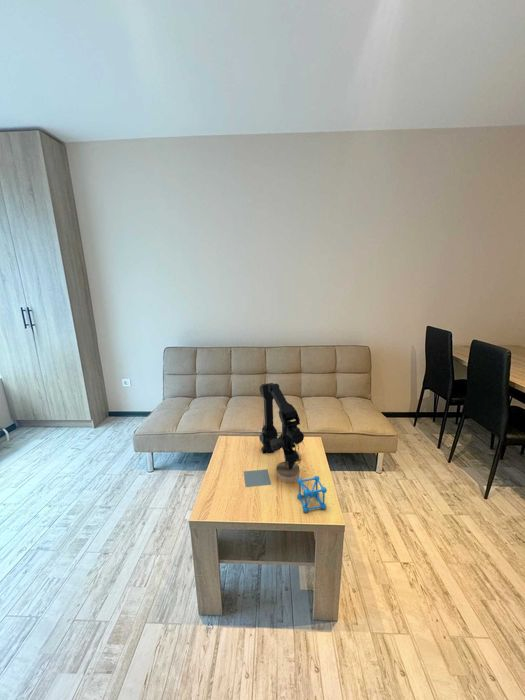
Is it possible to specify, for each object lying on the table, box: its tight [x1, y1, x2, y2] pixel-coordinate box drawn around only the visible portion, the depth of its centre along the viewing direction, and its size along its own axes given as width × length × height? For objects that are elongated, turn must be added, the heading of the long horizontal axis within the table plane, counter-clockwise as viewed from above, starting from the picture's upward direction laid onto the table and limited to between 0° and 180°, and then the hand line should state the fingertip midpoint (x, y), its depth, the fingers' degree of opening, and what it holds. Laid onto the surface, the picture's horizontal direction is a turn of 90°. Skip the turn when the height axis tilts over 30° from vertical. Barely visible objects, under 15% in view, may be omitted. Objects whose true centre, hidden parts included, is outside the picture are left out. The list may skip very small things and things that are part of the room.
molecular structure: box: [296, 475, 328, 513], centre depth 126 cm, size 10×10×10 cm
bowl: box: [276, 471, 300, 484], centre depth 145 cm, size 10×10×4 cm
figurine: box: [294, 440, 305, 460], centre depth 159 cm, size 8×6×12 cm
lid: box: [276, 460, 300, 477], centre depth 144 cm, size 11×11×5 cm
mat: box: [243, 468, 272, 488], centre depth 144 cm, size 12×12×1 cm
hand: (288, 463), depth 143 cm, fingers open, 9 cm apart
